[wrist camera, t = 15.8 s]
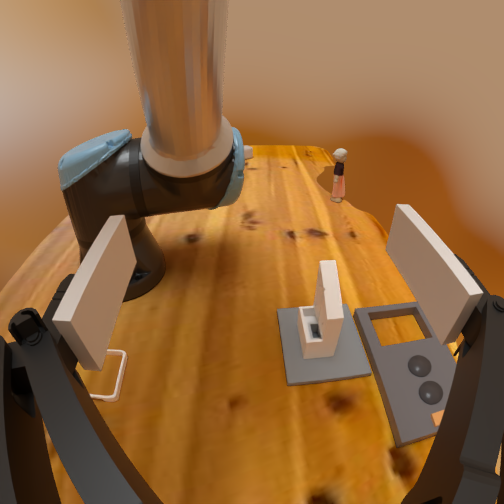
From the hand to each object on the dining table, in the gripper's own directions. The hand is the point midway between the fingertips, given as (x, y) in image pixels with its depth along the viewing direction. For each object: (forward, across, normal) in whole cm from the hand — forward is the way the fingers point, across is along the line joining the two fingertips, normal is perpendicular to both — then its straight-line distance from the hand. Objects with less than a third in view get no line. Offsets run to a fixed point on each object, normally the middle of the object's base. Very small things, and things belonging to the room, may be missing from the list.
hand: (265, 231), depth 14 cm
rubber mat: (+11, +8, -23) cm, 27 cm away
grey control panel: (+5, +19, -23) cm, 31 cm away
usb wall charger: (+87, 0, -26) cm, 91 cm away
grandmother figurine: (+54, +23, -25) cm, 63 cm away
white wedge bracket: (+11, +7, -23) cm, 27 cm away
